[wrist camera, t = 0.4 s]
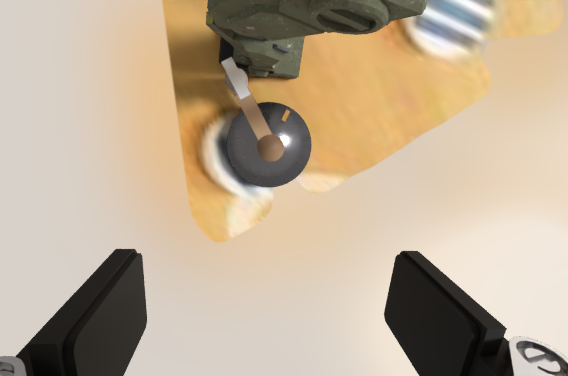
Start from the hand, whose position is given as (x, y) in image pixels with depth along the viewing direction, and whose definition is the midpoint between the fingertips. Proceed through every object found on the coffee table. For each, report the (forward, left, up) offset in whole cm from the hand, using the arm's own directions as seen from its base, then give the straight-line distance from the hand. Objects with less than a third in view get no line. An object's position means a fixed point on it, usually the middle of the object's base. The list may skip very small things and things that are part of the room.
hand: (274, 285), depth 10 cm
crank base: (-2, +1, -32) cm, 32 cm away
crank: (-5, -2, -30) cm, 31 cm away
